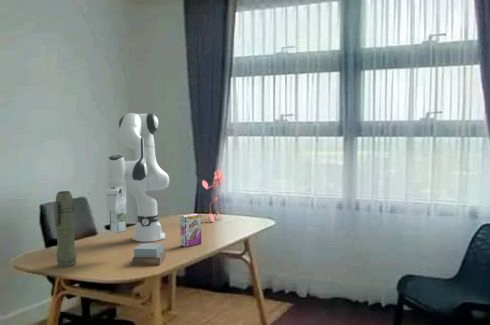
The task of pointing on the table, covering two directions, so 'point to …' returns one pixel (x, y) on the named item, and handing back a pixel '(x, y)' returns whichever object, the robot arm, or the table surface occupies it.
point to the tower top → (148, 250)
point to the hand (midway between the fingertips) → (117, 216)
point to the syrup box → (118, 219)
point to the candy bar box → (190, 230)
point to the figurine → (218, 181)
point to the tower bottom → (149, 260)
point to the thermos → (65, 229)
